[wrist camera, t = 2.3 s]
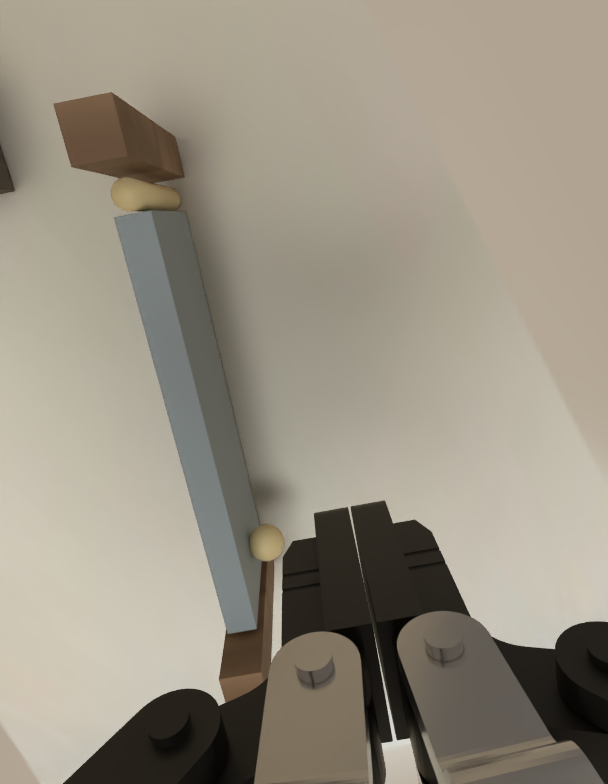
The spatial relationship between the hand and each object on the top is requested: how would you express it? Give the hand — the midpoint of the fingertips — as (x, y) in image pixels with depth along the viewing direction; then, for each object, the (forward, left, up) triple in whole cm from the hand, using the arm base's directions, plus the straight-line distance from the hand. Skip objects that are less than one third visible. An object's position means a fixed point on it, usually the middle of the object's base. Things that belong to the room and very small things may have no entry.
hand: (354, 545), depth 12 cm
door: (0, -4, -15) cm, 16 cm away
